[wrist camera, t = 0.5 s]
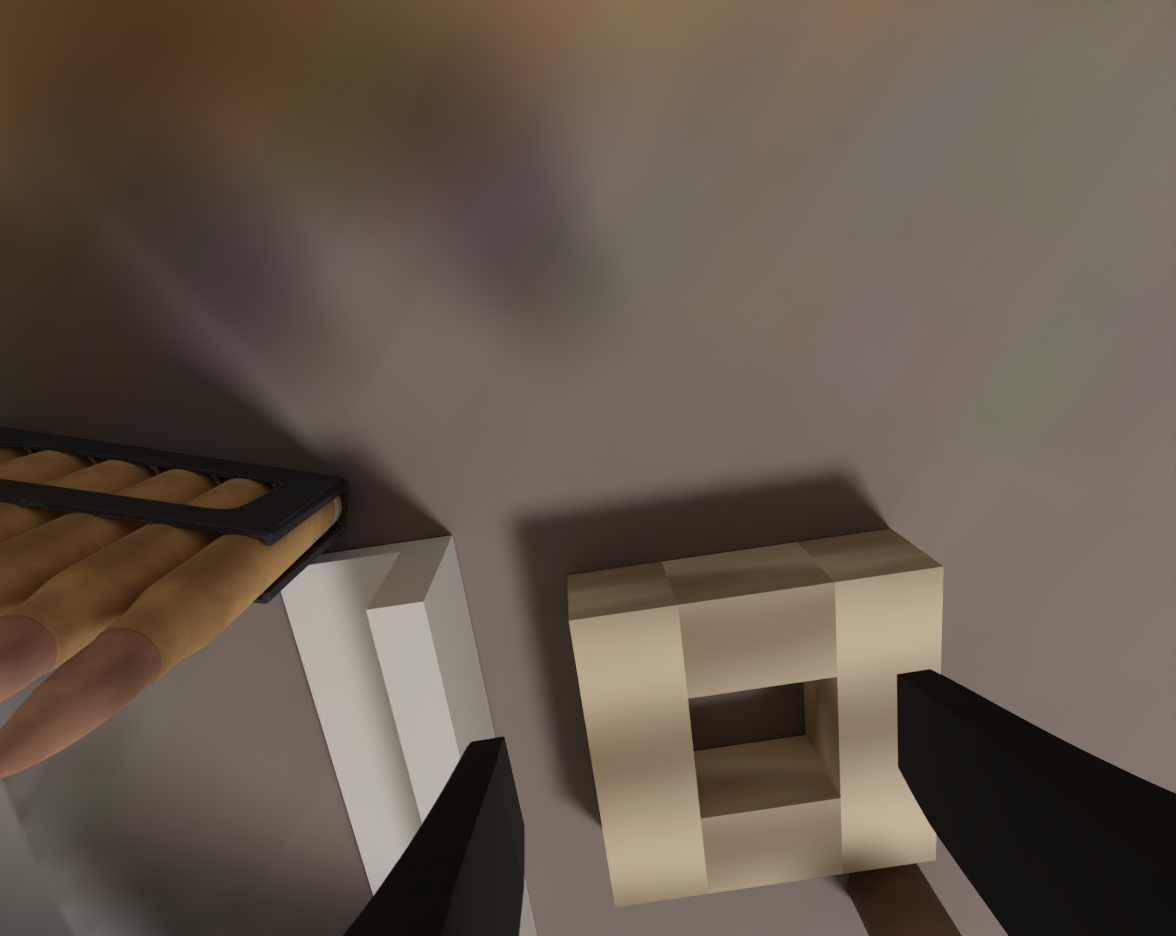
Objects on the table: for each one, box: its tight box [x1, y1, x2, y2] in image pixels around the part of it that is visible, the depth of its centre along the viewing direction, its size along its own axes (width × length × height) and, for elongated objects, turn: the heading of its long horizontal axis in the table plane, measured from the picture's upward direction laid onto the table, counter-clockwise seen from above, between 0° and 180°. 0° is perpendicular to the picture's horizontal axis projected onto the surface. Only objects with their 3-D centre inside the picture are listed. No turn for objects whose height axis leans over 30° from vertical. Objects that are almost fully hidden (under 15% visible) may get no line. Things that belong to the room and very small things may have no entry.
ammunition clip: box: [0, 427, 349, 779], centre depth 14 cm, size 11×2×12 cm, turn 80°
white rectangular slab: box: [281, 535, 537, 936], centre depth 21 cm, size 18×6×4 cm, turn 8°
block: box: [567, 529, 944, 907], centre depth 21 cm, size 11×11×3 cm
